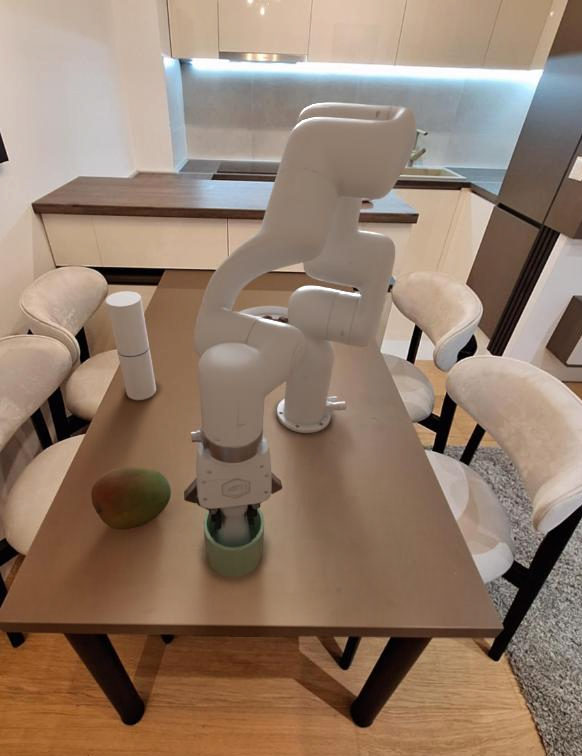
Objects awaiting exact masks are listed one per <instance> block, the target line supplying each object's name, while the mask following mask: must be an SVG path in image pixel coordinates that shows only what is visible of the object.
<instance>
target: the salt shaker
mask: <svg viewBox="0 0 582 756" xmlns="http://www.w3.org/2000/svg"><path fill="white" fill-rule="evenodd" d="M247 508H248V505H241V506H233V507H224V508H220V509H221V511H222V515H221V529H220V530H217V534H216V542H217V543H219V544H221V545H223V546H226V547H232V548H233V547H240V546H244V545H246V544H248V543H250V542H251V538H252V537H251V533H250V529H249V525H248V521H247V517H246V513H245V512H246V511H247Z"/></svg>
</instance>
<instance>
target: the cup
mask: <svg viewBox="0 0 582 756" xmlns="http://www.w3.org/2000/svg"><path fill="white" fill-rule="evenodd" d="M260 508H261V507H260ZM260 508H258V512H257V517H254V524H253V525H251V526H250V525H249V524H248V525H249V529H250V533H251V537H252V538H251V542H250V543H248V544H246V545H244V546H240V547H233V548H232V547H226V546H223V545H221V544H219V543H217V542H216V534H217V526H216V522H212V521H211V514H210V513H209V510H207V511H206V513H205V515H204V518H203V523H202V524H203V533H204V534H203V535H204V546H205V554H206V559H207V561H208V563H209V565H210V566H211V568H212V569H213V570H214V571H215V572H217V573H219V574H220V575H222V576H226V577H229V578H230V577H231V578H235V577H242V576H246V575H247V574H249V573H250V572H252V571H253V570H254V569H255V568H256V567H257V566H258V564H259V563H260V561H261V559H262V556H263V547H264V538H265V537H264V536H265V518H264V513H263V512H262V510H261V509H260ZM220 511H221V509H220ZM245 513H246V517H247V512H245ZM221 515H222V511H221ZM247 521H248V518H247Z"/></svg>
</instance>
